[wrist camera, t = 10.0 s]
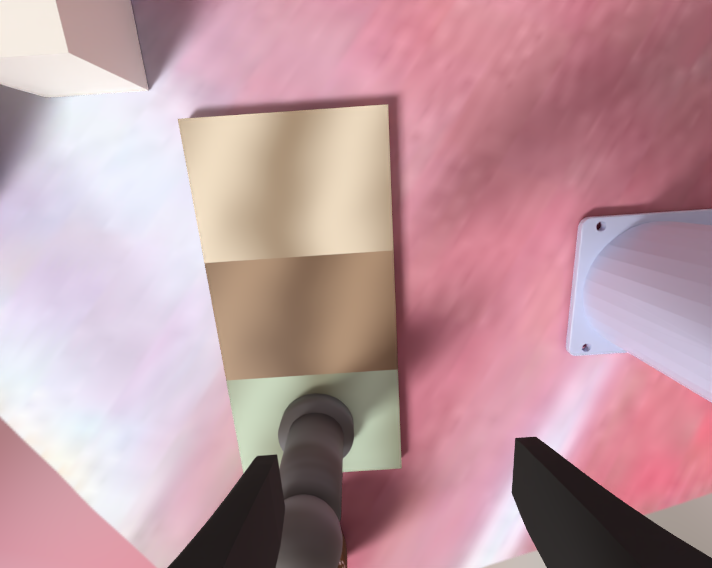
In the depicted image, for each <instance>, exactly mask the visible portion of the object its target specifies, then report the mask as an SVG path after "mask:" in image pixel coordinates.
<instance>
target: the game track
mask: <svg viewBox="0 0 712 568" xmlns="http://www.w3.org/2000/svg"><path fill="white" fill-rule="evenodd" d="M178 123H179V128H180V133H181V139H182V144H183V149H184V155H185V160H186V166H187V171H188V176H189V182H190V187H191V193H192V198H193V203H194V209H195V214H196V220H197V225H198V230H199V236H200V241H201V246H202V252H203V257H204V263H205V268H206V273H207V279H208V284H209V290H210V295H211V300H212V306H213V311H214V317H215V322H216V327H217V333H218V338H219V344H220V349H221V354H222V360H223V365H224V370H225V376H226V381H227V387H228V392H229V397H230V403H231V408H232V414H233V419H234V424H235V430H236V435H237V441H238V446H239V451H240V457H241V462H242V468H243V473H244V472H245V471H246V470H247V468H248V467H249V465H250V464H251V463H252V461H253V460H254V459H255V458H256V456H261V455H276V454H277V456H278V463H279V468H280V464H281V460H282V456H283V450H282V448H281V447H280V444H279V440H278V430H279V426H280V422H281V419H282V416H283V413H284V411H285V409H286V408H287V407H288V405H289V404H290V403H291V402H293V401H294V400H295V399H297V398H299V397H301V396H304V395H307V394H314V393H320V394H326V395H330V396H333V397H335V398H337V399H339V400H340V401H342V402H343V403H344V404H345V405H346V406H347V407H348V409H349V410H350V412H351V414H352V417H353V421H354V441H353V445H352V447H351V449H350V451H349V453H348V454H347V455H346V456H345V457H344V458H343V471H342V472H352V471H368V470H384V469H400V468H402V467H401V440H400V413H399V386H398V360H397V333H396V306H395V279H394V252H393V225H392V198H391V171H390V145H389V118H388V104H387V105H372V106H358V107H344V108H329V109H315V110H301V111H286V112H272V113H257V114H243V115H229V116H214V117H200V118H185V119H178Z"/></svg>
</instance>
